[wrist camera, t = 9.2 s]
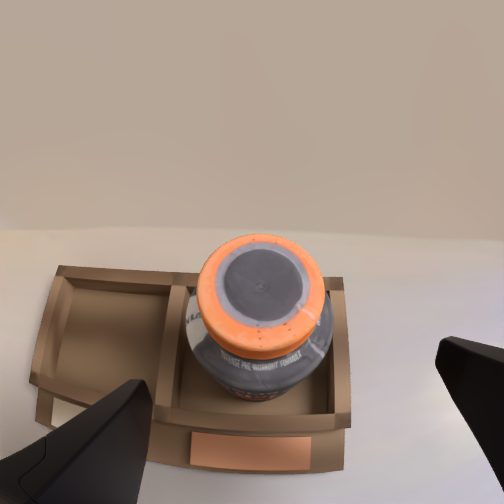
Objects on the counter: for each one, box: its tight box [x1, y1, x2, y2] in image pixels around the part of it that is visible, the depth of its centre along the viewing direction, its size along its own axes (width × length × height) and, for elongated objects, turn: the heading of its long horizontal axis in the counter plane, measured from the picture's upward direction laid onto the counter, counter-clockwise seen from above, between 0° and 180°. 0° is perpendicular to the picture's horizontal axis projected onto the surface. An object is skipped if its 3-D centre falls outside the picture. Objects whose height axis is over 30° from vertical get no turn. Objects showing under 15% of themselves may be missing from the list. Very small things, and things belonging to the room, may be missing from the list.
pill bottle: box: [186, 234, 334, 402], centre depth 13 cm, size 6×6×11 cm
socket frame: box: [29, 265, 351, 474], centre depth 17 cm, size 13×22×2 cm, turn 88°
